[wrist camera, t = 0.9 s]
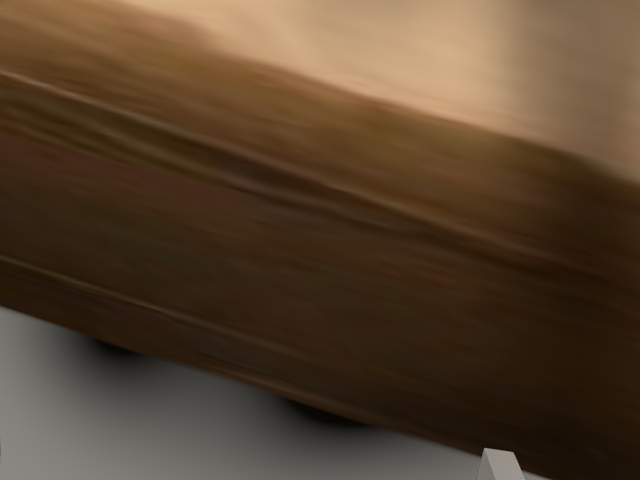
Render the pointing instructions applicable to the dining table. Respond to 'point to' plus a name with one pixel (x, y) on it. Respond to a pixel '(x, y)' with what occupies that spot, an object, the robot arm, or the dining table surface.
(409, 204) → the dining table surface
